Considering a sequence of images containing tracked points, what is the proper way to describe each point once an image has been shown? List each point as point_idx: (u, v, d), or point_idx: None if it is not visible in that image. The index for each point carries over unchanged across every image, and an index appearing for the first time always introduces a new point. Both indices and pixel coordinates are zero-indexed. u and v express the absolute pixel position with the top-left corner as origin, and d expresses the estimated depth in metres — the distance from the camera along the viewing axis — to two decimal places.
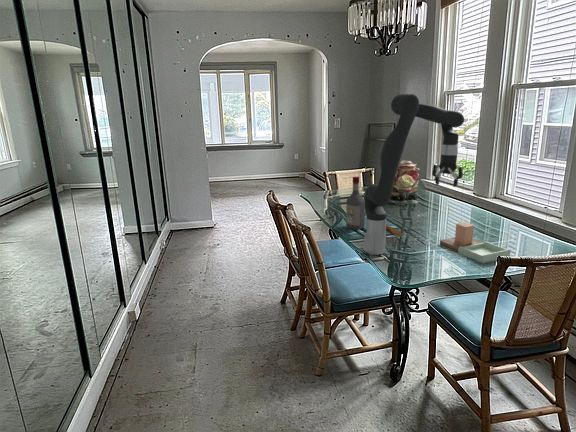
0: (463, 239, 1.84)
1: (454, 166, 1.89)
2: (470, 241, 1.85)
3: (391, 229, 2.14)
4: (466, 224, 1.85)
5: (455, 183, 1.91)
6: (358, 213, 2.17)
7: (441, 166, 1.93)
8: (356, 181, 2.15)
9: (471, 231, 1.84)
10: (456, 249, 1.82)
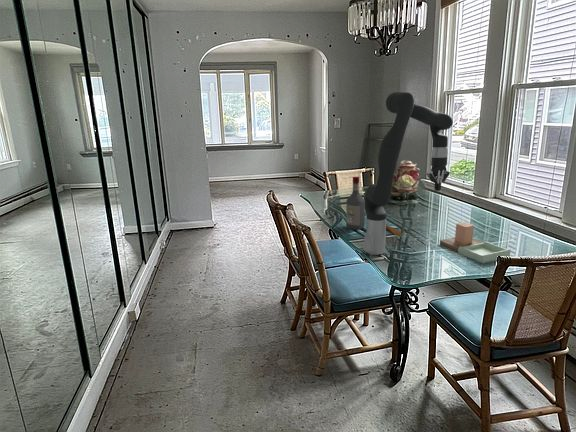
0: (463, 239, 1.84)
1: None
2: (470, 241, 1.85)
3: (391, 229, 2.15)
4: (466, 224, 1.85)
5: (439, 187, 1.93)
6: (358, 213, 2.17)
7: (435, 172, 1.90)
8: (356, 181, 2.15)
9: (471, 231, 1.84)
10: (456, 249, 1.82)
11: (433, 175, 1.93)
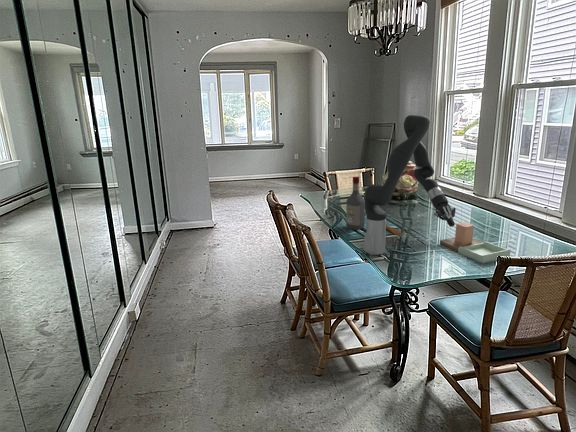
0: (463, 239, 1.84)
1: (449, 205, 1.98)
2: (470, 241, 1.85)
3: (390, 229, 2.15)
4: (466, 224, 1.85)
5: None
6: (358, 213, 2.17)
7: (440, 209, 1.96)
8: (356, 181, 2.15)
9: (471, 231, 1.84)
10: (456, 249, 1.82)
11: None
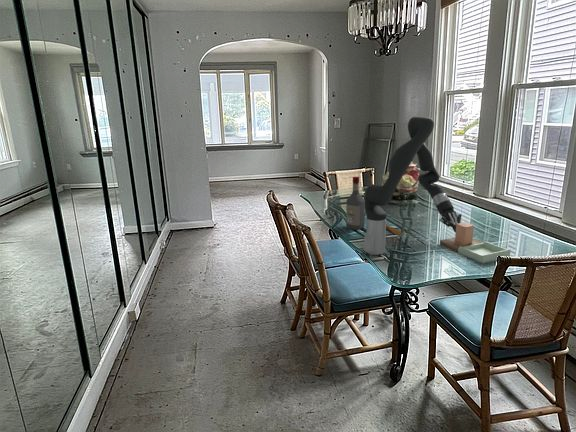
0: (463, 239, 1.84)
1: (455, 212, 1.95)
2: (470, 241, 1.85)
3: (391, 228, 2.15)
4: (466, 224, 1.85)
5: None
6: (358, 213, 2.17)
7: (446, 215, 1.92)
8: (356, 181, 2.15)
9: (471, 231, 1.84)
10: (456, 249, 1.82)
11: None
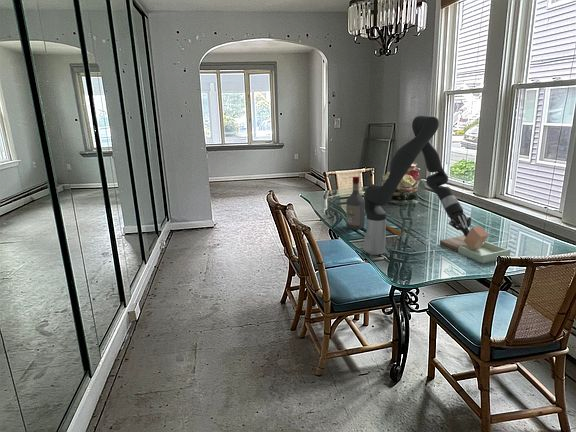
0: (473, 245, 1.79)
1: (464, 215, 1.89)
2: (478, 246, 1.81)
3: (390, 228, 2.16)
4: (481, 231, 1.77)
5: (468, 232, 1.85)
6: (358, 213, 2.17)
7: (455, 218, 1.86)
8: (356, 181, 2.15)
9: (484, 239, 1.78)
10: (456, 249, 1.82)
11: None
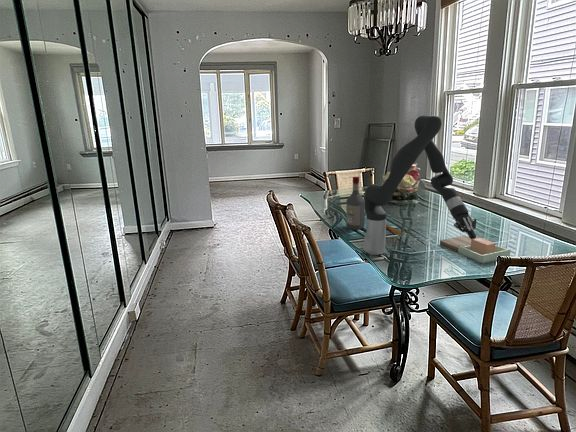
0: (474, 251, 1.79)
1: None
2: None
3: (391, 228, 2.16)
4: (491, 251, 1.74)
5: None
6: (358, 213, 2.17)
7: (460, 220, 1.83)
8: (356, 181, 2.15)
9: None
10: (456, 249, 1.82)
11: None
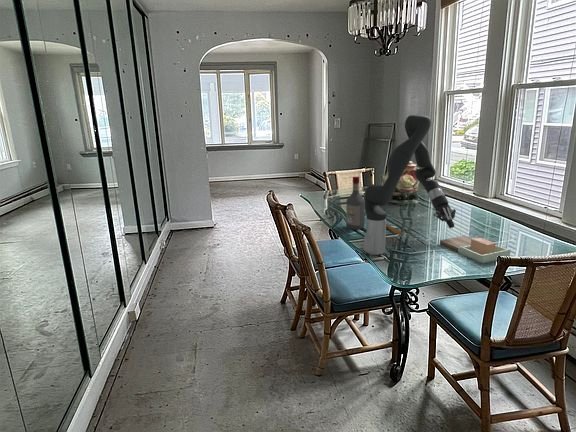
0: (474, 251, 1.79)
1: (449, 207, 1.98)
2: None
3: (391, 228, 2.17)
4: (491, 251, 1.74)
5: None
6: (358, 213, 2.17)
7: (440, 210, 1.95)
8: (356, 181, 2.15)
9: None
10: (456, 249, 1.82)
11: None
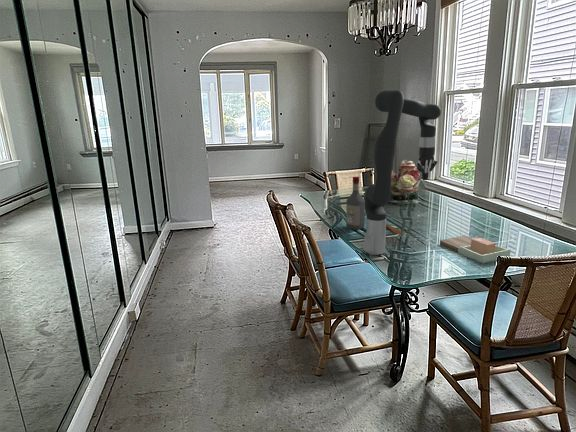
0: (474, 251, 1.79)
1: (433, 158, 1.93)
2: None
3: (391, 227, 2.17)
4: (491, 251, 1.74)
5: None
6: (358, 213, 2.17)
7: (422, 162, 1.91)
8: (356, 181, 2.15)
9: None
10: (456, 249, 1.82)
11: (421, 164, 1.95)
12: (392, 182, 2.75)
